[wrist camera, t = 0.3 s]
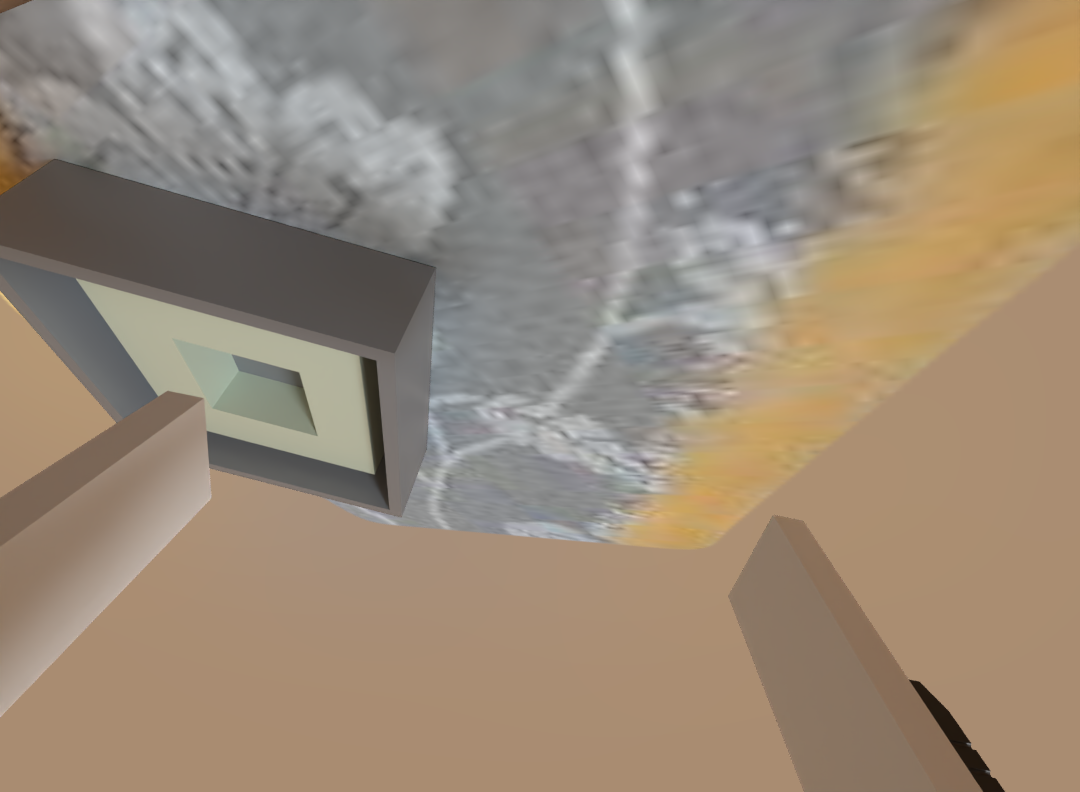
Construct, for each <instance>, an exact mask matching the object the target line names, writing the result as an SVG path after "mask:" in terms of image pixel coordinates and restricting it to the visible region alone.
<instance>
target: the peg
mask: <svg viewBox="0 0 1080 792" xmlns="http://www.w3.org/2000/svg"><path fill="white" fill-rule="evenodd" d="M29 1H32V0H0V13H2V12H5V11H7V10H10V9H12V8H14V7H17V6H19V5H22V4H24V3H27V2H29Z"/></svg>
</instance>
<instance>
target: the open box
mask: <svg viewBox="0 0 1080 792" xmlns="http://www.w3.org/2000/svg"><path fill="white" fill-rule="evenodd" d="M435 275H436V268H434V267H431V266H427V265H424V264H420V263H417V262H413V261H410V260H406V259H403V258H399V257H396V256H392V255H389V254H385V253H382V252H378V251H375V250H371V249H368V248H364V247H361V246H357V245H354V244H350V243H347V242H343V241H340V240H336V239H333V238H329V237H326V236H322V235H319V234H315V233H312V232H308V231H305V230H301V229H298V228H294V227H291V226H287V225H284V224H280V223H277V222H273V221H270V220H266V219H263V218H259V217H256V216H252V215H249V214H245V213H242V212H238V211H235V210H231V209H228V208H224V207H221V206H217V205H214V204H210V203H207V202H203V201H200V200H196V199H193V198H189V197H186V196H182V195H179V194H175V193H172V192H168V191H165V190H161V189H158V188H154V187H151V186H147V185H144V184H140V183H137V182H133V181H130V180H126V179H123V178H119V177H116V176H112V175H109V174H105V173H102V172H98V171H95V170H91V169H88V168H84V167H81V166H77V165H74V164H70V163H67V162H63V161H60V160H56V159H54V160H52V161H51V162H49V163H48V164H46V165H45V166H44V167H42V168H41V169H39V170H38V171H36V172H35V173H33V174H32V175H30V176H29V177H27V178H26V179H24V180H23V181H21V182H20V183H18V184H17V185H15V186H14V187H12V188H11V189H9V190H8V191H6V192H5V193H3V194H2V195H0V291H1V292H2V293H3V294H4V296H5V297H6V298H7V299H8V300H9V301H10V302H11V303H12V305H13V306H14V307H15V308H16V309H17V310H18V311H19V313H20V314H21V315H22V316H23V317H24V318H25V319H26V320H27V322H28V323H29V324H30V325H31V326H32V327H33V328H34V330H35V331H36V332H37V333H38V334H39V335H40V336H41V338H42V339H43V340H44V341H45V342H46V343H47V344H48V345H49V346H50V348H51V349H52V350H53V351H54V352H55V353H56V355H57V356H58V357H59V358H60V359H61V360H62V361H63V362H64V364H65V365H66V366H67V367H68V368H69V369H70V370H71V372H72V373H73V374H74V375H75V376H76V377H77V378H78V380H79V381H80V382H81V383H82V384H83V385H84V386H85V388H87V390H88V391H89V392H90V393H91V394H92V395H93V397H94V398H95V399H96V400H97V401H98V402H99V403H100V405H102V407H103V408H104V409H105V410H106V411H107V413H108V414H109V415H110V416H111V417H112V418H113V419H114V420H115V421H116V423H118V422H120V421H121V420H123V419H124V418H126V417H127V416H129V415H130V414H132V413H134V412H135V411H137V410H138V409H140V408H141V407H143V406H145V405H146V404H148V403H149V402H151V401H152V400H154V399H155V398H157V397H159V396H160V395H162V394H163V393H165V392H166V391H171V392H176V393H181V394H186V395H191V396H196V397H201V398H204V403H205V417H206V430H207V444H208V457H209V468H211V469H215V470H218V471H222V472H227V473H230V474H234V475H238V476H242V477H246V478H250V479H254V480H258V481H261V482H266V483H269V484H273V485H277V486H281V487H285V488H289V489H292V490H296V491H300V492H304V493H308V494H312V495H316V496H320V497H324V498H327V499H331V500H335V501H339V502H343V503H347V504H351V505H355V506H359V507H363V508H366V509H370V510H374V511H378V512H382V513H386V514H390V515H394V516H398V517H402V515H403V512H404V509H405V507H406V504H407V501H408V499H409V496H410V493H411V490H412V488H413V485H414V482H415V480H416V477H417V474H418V472H419V469H420V466H421V463H422V461H423V458H424V455H425V453H426V450H427V434H428V414H429V394H430V374H431V354H432V335H433V315H434V295H435Z"/></svg>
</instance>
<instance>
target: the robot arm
mask: <svg viewBox="0 0 1080 792" xmlns="http://www.w3.org/2000/svg"><path fill="white" fill-rule="evenodd" d="M210 499H211V485H210V471H209V457H208V444H207V430H206V417H205V403H204V398H201V397H196V396H191V395H186V394H181V393H176V392H171V391H166V392H165V393H163V394H162V395H160V396H159V397H157V398H155V399H154V400H152V401H151V402H149V403H148V404H146V405H145V406H143V407H141V408H140V409H138V410H137V411H135V412H134V413H132V414H130V415H129V416H127V417H126V418H124V419H123V420H121V421H120V422H118V423H116V424H115V425H114V426H112V427H110V428H109V429H107V430H106V431H104V432H102V433H101V434H99V435H98V436H96V437H95V438H93V439H92V440H90V441H88V442H87V443H85V444H84V445H82V446H81V447H79V448H77V449H76V450H74V451H73V452H71V453H70V454H68V455H66V456H65V457H63V458H62V459H60V460H59V461H57V462H56V463H54V464H52V465H51V466H49V467H48V468H46V469H45V470H43V471H41V472H40V473H38V474H37V475H35V476H34V477H32V478H31V479H29V480H27V481H26V482H24V483H23V484H21V485H20V486H18V487H16V488H15V489H14V490H12V491H10V492H9V493H7V494H6V495H4V496H2V497H1V498H0V717H1V716H2V715H3V714H4V713H5V712H6V711H7V710H8V709H9V707H10V706H11V705H12V704H13V703H14V702H15V701H16V700H17V699H18V698H19V697H20V696H21V695H22V694H23V693H24V692H25V691H26V690H27V689H28V688H29V687H30V686H31V685H32V684H33V683H34V682H35V681H36V679H37V678H38V677H39V676H40V675H41V674H42V673H43V672H44V671H45V670H46V669H47V668H48V667H49V666H50V665H51V664H52V663H53V662H54V661H55V660H56V659H57V658H58V657H59V655H61V654H62V653H63V652H64V650H65V649H66V648H67V647H68V646H69V645H70V644H71V643H72V642H73V641H74V640H75V639H76V638H77V637H78V636H79V635H80V634H81V633H82V632H83V631H84V630H85V629H86V628H87V627H88V626H89V625H90V623H92V621H93V620H94V619H95V618H96V617H97V616H98V615H99V614H100V613H101V612H102V611H103V610H104V609H105V608H106V607H107V606H108V605H109V604H110V603H111V602H112V601H113V600H114V599H115V598H116V596H117V595H118V594H119V593H120V592H121V591H122V590H123V589H124V588H125V587H126V586H127V585H128V584H129V583H130V582H131V581H132V580H133V579H134V578H135V577H136V576H137V575H138V574H139V572H141V571H142V570H143V569H144V568H145V567H146V565H147V564H148V563H149V562H150V561H151V560H152V559H153V558H154V557H155V556H156V555H157V554H158V553H159V552H160V551H161V550H162V549H163V548H164V547H165V546H166V545H167V544H168V543H169V542H170V541H171V540H172V539H173V537H174V536H175V535H176V534H177V533H178V532H179V531H180V530H181V529H182V528H183V527H184V526H185V525H186V524H187V523H188V522H189V521H190V520H191V519H192V518H193V517H194V516H195V514H197V513H198V511H199V510H200V509H201V508H202V507H203V506H204V505H205V504H206V503H207V502H208V501H209V500H210ZM728 597H729V599H730V602H731V604H732V607H733V610H734V612H735V615H736V617H737V620H738V623H739V625H740V628H741V630H742V633H743V636H744V638H745V641H746V643H747V646H748V648H749V651H750V653H751V656H752V659H753V661H754V664H755V666H756V669H757V672H758V674H759V677H760V679H761V682H762V685H763V686H764V689H765V692H766V695H767V698H768V700H769V703H770V705H771V708H772V710H773V713H774V716H775V718H776V721H777V723H778V726H779V728H780V731H781V734H782V736H783V739H784V741H785V744H786V747H787V749H788V752H789V754H790V757H791V759H792V762H793V764H794V767H795V770H796V772H797V775H798V778H799V780H800V783H801V785H802V788H803V790H804V792H1005V791H1004V790H1003V789H1002V787H1001V786H1000V784H999V783H998V781H997V780H996V779H995V778H992V777H991V775H990V770H989V768H988V767H987V766H986V764H985V763H984V761H983V760H982V758H981V757H980V755H979V754H978V752H977V751H976V750H973V749H972V748H971V742H970V741H969V740H968V738H967V737H966V735H965V734H964V733H963V731H962V729H961V728H960V727H959V725H958V724H957V722H956V721H955V719H954V718H953V717H952V715H951V714H950V712H949V711H948V710H947V709H946V708H945V707H944V706H943V705H942V704H941V703H940V702H939V701H938V700H937V699H936V698H935V697H934V696H933V695H932V694H931V693H930V692H929V691H928V690H927V689H926V688H925V687H924V686H923V685H922V684H921V683H920V682H918V681H913V680H909V679H908V678H907V676H906V675H905V674H904V672H903V671H902V669H901V667H900V666H899V664H898V663H897V661H896V660H895V659H894V657H893V655H892V654H891V653H890V651H889V649H888V648H887V646H886V645H885V643H884V642H883V640H882V639H881V637H880V636H879V634H878V633H877V631H876V630H875V628H874V627H873V625H872V624H871V622H870V621H869V619H868V618H867V616H866V615H865V613H864V612H863V610H862V609H861V607H860V606H859V604H858V603H857V601H856V600H855V598H854V597H853V595H852V594H851V592H850V591H849V589H848V588H847V586H846V585H845V583H844V582H843V580H842V579H841V577H840V576H839V574H838V572H837V571H836V570H835V568H834V567H833V565H832V563H831V562H830V561H829V559H828V557H827V556H826V554H825V553H824V552H823V550H822V548H821V547H820V546H819V544H818V542H817V541H816V540H815V538H814V537H813V535H812V534H811V532H810V530H809V529H808V528H807V526H806V524H805V523H804V521H801V520H796V519H791V518H786V517H782V516H776V515H773V516H772V518H771V520H770V521H769V523H768V525H767V527H766V529H765V530H764V532H763V534H762V536H761V538H760V539H759V541H758V543H757V545H756V547H755V549H754V550H753V552H752V554H751V556H750V558H749V559H748V561H747V563H746V565H745V567H744V568H743V570H742V572H741V574H740V576H739V578H738V579H737V581H736V583H735V585H734V587H733V588H732V590H731V592H730V594H729V596H728Z"/></svg>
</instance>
